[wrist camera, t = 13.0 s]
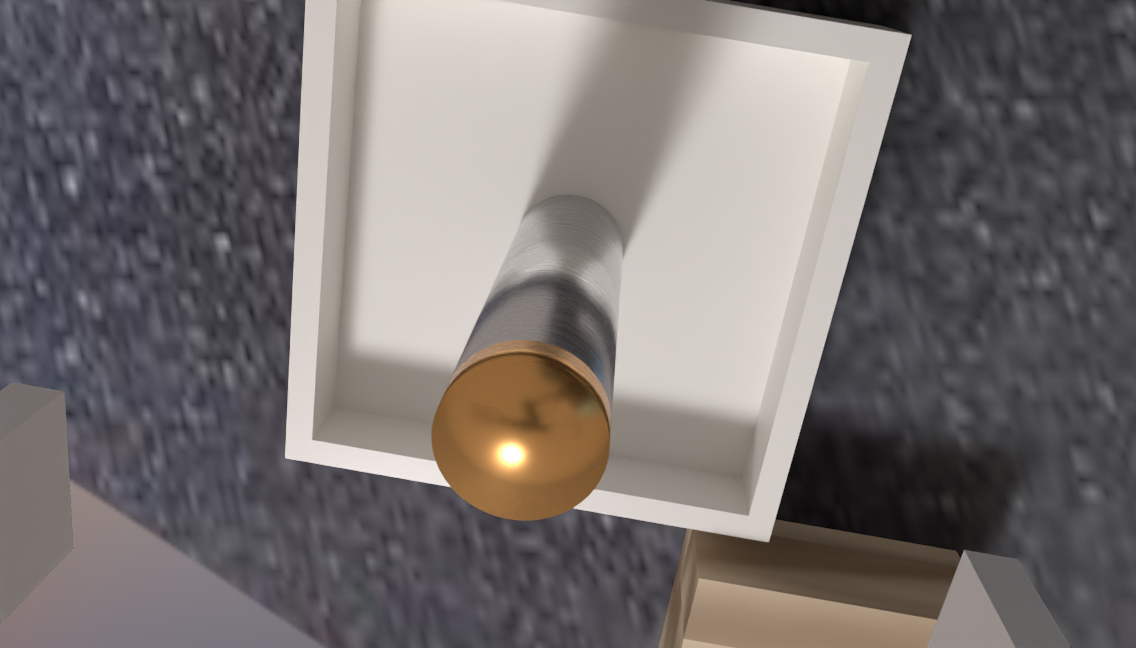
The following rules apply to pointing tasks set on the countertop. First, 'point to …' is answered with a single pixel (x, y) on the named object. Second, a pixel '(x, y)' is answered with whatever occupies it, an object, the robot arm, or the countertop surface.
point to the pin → (538, 369)
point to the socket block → (806, 590)
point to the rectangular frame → (609, 177)
